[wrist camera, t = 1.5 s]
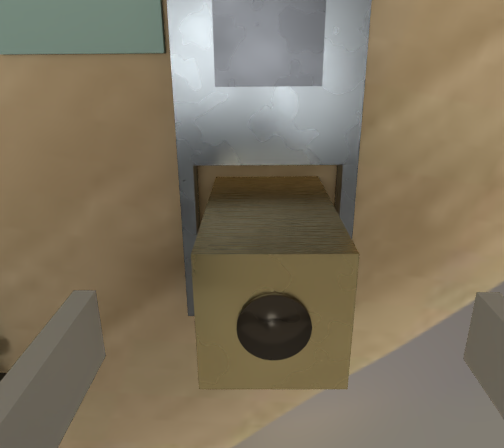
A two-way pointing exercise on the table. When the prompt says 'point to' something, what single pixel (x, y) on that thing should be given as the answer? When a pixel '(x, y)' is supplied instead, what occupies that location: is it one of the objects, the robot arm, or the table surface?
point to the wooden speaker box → (273, 286)
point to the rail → (266, 92)
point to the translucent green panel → (81, 26)
